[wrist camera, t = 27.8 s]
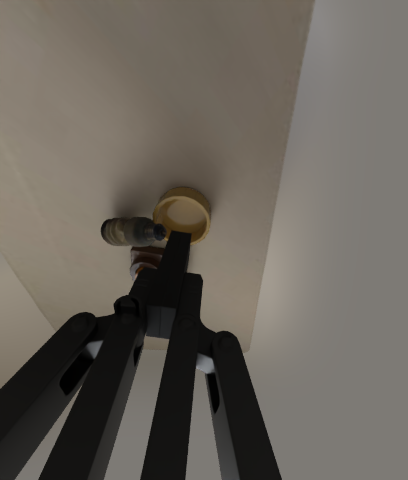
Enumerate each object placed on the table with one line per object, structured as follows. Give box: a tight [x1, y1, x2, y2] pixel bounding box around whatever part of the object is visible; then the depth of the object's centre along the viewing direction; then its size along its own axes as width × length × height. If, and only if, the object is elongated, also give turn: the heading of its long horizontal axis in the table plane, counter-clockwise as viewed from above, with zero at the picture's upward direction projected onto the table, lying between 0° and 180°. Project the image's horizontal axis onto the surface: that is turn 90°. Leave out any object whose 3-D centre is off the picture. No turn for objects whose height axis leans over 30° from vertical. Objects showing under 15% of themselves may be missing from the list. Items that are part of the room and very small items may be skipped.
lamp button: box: [135, 267, 144, 280], centre depth 46 cm, size 4×4×2 cm
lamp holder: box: [153, 187, 211, 245], centre depth 40 cm, size 10×10×4 cm
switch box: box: [130, 246, 165, 281], centre depth 48 cm, size 12×9×4 cm
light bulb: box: [101, 217, 167, 247], centre depth 39 cm, size 6×6×15 cm
